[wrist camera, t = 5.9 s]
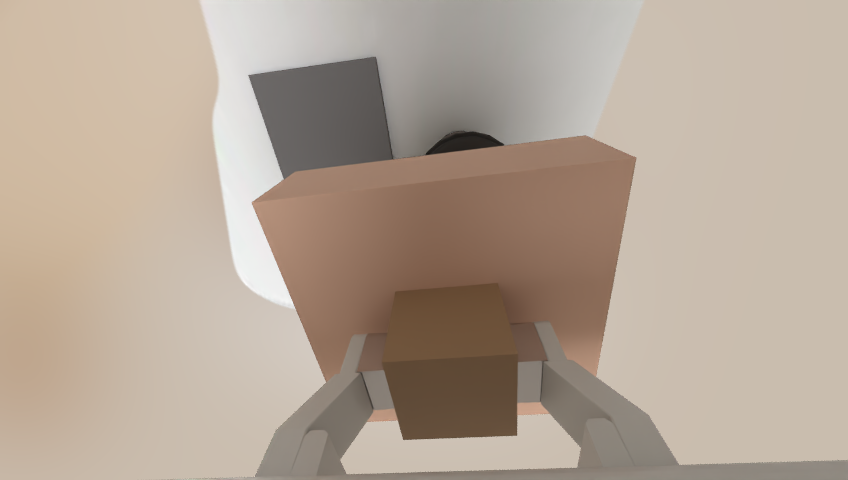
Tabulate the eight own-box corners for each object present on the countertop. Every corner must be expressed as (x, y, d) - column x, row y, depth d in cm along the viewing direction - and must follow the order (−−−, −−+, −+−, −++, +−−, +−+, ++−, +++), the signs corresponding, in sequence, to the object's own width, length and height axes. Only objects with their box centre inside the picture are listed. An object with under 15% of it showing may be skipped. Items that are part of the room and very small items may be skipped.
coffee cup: (422, 114, 31) (416, 131, 22) (505, 118, 31) (532, 137, 22) (419, 192, 35) (413, 234, 26) (492, 196, 35) (511, 239, 26)
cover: (295, 171, 12) (179, 253, 7) (585, 135, 11) (727, 197, 6) (358, 364, 18) (322, 500, 12) (562, 351, 16) (626, 494, 11)
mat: (251, 75, 30) (248, 75, 29) (375, 57, 29) (374, 57, 28) (307, 241, 38) (305, 243, 38) (405, 232, 37) (404, 234, 37)
